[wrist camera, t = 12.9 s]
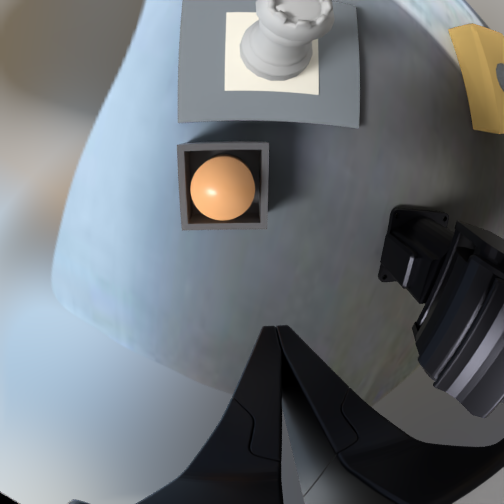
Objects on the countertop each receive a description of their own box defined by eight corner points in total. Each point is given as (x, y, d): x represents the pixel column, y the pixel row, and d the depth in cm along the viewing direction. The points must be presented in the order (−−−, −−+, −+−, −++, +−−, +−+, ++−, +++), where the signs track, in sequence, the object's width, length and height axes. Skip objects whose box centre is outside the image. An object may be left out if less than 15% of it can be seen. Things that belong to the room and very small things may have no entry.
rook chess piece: (312, 31, 13) (358, -20, 6) (304, 88, 15) (351, 61, 8) (244, 19, 13) (250, -45, 6) (234, 77, 15) (231, 36, 7)
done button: (253, 154, 17) (255, 157, 14) (252, 208, 18) (254, 220, 16) (195, 155, 16) (189, 158, 14) (197, 209, 18) (192, 221, 16)
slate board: (351, 9, 13) (356, 5, 12) (354, 128, 17) (359, 128, 16) (185, -1, 12) (182, -6, 11) (180, 123, 16) (177, 122, 16)
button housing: (264, 141, 17) (269, 142, 15) (262, 214, 20) (267, 229, 17) (186, 142, 17) (177, 144, 14) (189, 215, 19) (182, 230, 17)
